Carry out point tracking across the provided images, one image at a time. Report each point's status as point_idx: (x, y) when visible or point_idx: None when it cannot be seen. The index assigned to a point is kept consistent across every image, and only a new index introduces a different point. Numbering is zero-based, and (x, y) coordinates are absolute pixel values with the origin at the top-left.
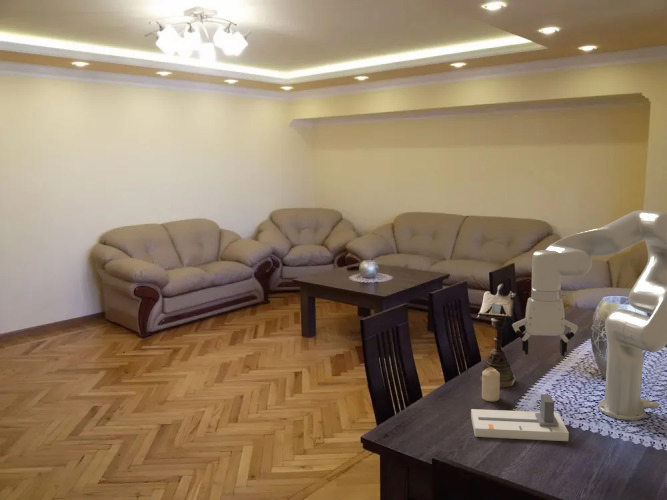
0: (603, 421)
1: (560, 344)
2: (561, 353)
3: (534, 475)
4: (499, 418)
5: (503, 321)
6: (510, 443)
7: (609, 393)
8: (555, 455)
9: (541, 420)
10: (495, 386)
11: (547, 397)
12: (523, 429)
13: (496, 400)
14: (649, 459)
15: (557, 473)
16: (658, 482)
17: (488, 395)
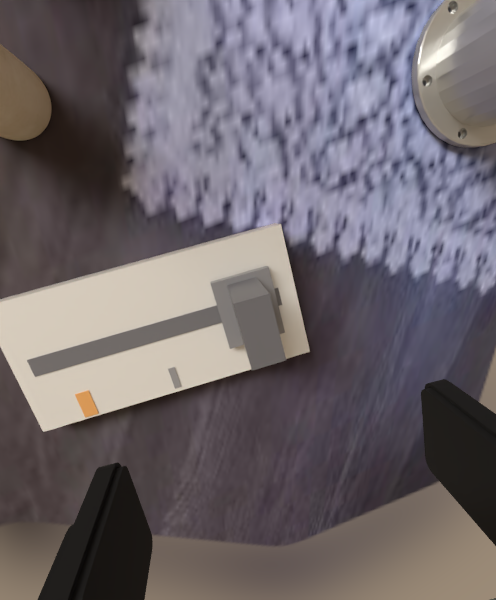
0: (408, 176)
1: (487, 467)
2: (436, 468)
3: (229, 515)
4: (99, 343)
5: None
6: (157, 411)
7: (492, 79)
8: (270, 421)
9: (233, 332)
10: (7, 115)
11: (260, 324)
12: (184, 382)
13: (45, 127)
14: (472, 354)
15: (275, 488)
16: None
17: (2, 136)
